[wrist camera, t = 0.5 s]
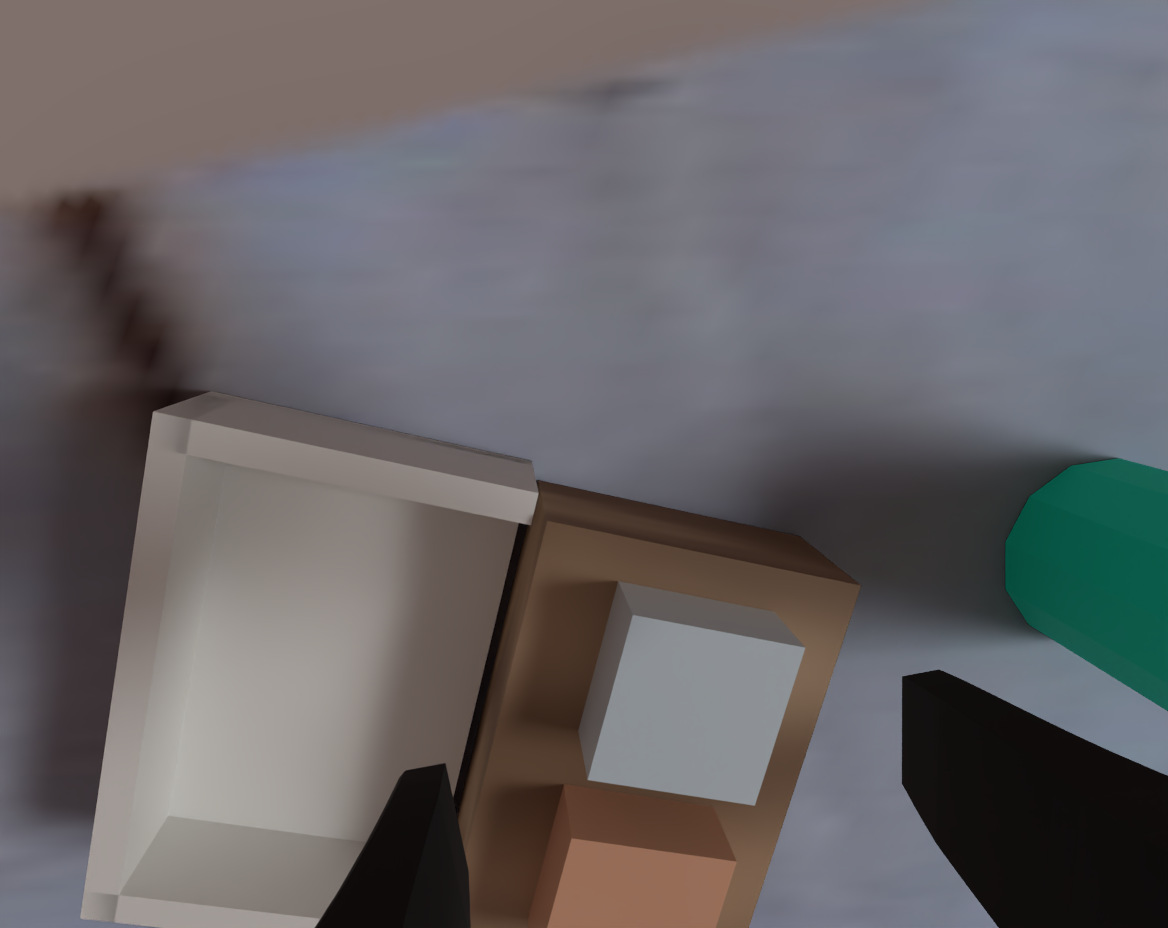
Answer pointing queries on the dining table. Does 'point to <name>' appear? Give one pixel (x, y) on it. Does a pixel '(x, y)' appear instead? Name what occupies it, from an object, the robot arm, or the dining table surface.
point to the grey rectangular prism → (687, 695)
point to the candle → (1098, 569)
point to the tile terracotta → (632, 864)
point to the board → (567, 662)
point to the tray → (288, 654)
